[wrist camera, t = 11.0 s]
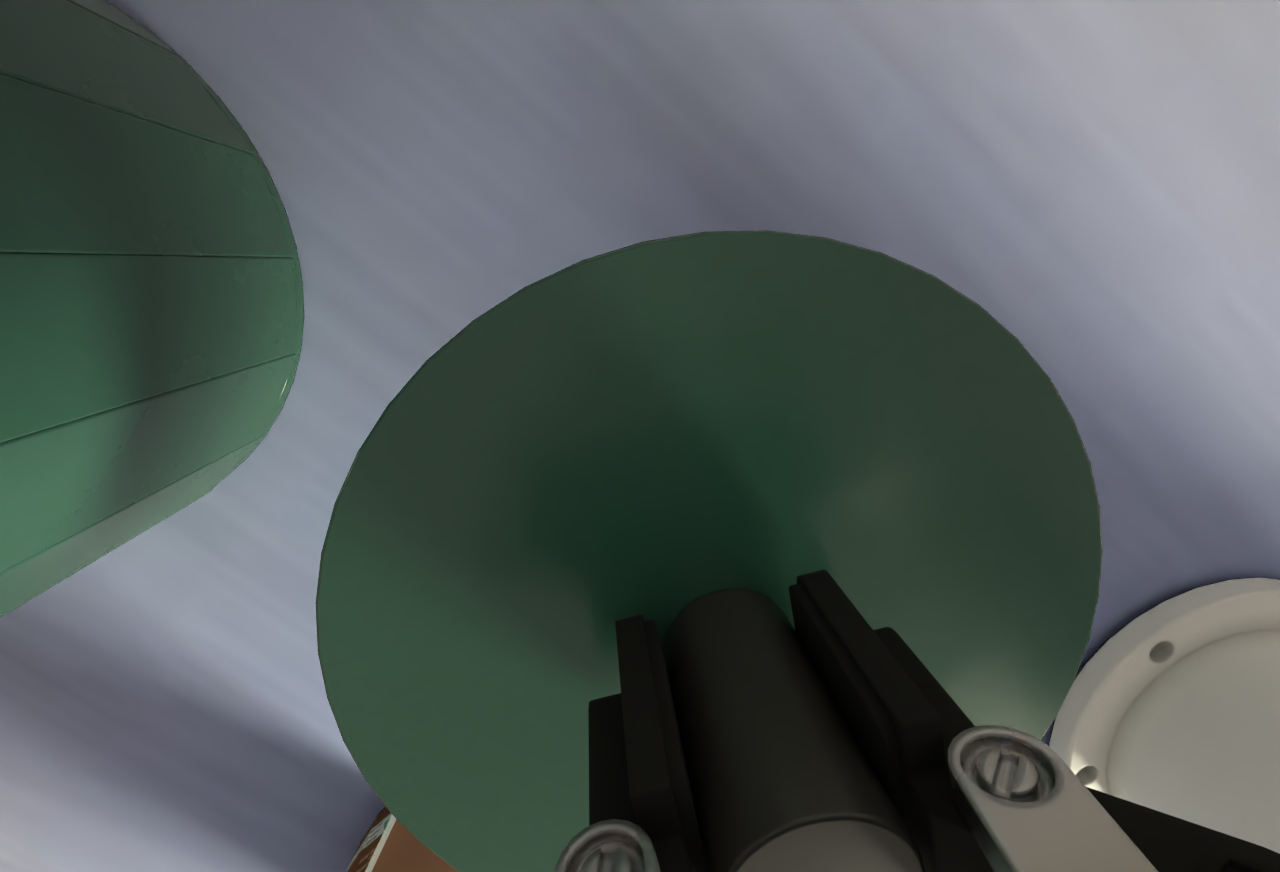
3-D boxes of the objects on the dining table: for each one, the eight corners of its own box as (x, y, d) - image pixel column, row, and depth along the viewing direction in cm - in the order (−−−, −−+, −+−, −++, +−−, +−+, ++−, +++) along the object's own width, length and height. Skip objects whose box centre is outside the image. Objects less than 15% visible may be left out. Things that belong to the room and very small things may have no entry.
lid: (1054, 145, 11) (1605, 11, 5) (1063, 795, 16) (1357, 1123, 10) (207, 343, 11) (-266, 448, 5) (472, 946, 15) (400, 1383, 9)
